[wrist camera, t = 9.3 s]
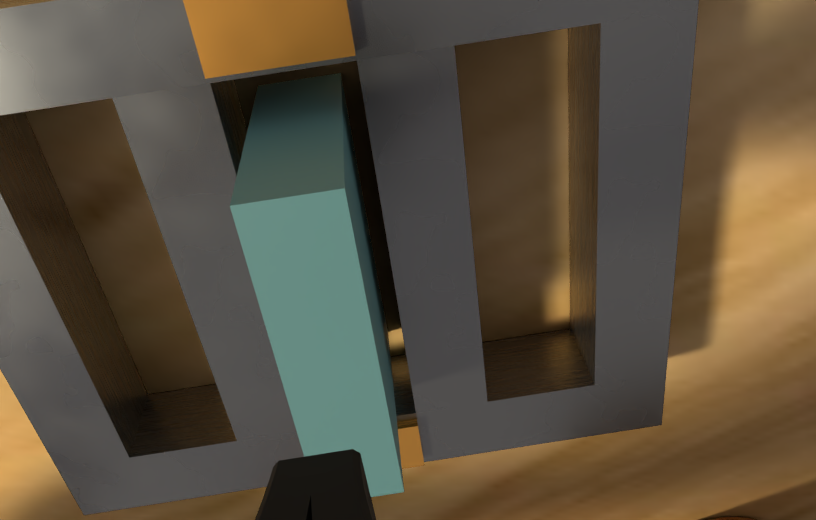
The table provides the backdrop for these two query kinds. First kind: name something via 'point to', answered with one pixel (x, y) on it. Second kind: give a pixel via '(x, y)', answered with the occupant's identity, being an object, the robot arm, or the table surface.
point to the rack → (403, 218)
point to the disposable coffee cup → (732, 518)
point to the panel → (318, 273)
